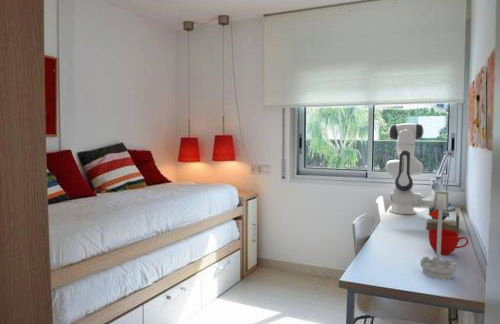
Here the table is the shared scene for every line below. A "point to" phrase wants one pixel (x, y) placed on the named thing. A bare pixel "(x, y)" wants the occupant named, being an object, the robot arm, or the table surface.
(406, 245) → the table surface
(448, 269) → the flag stand
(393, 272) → the table surface
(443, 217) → the alarm clock
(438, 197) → the green pillar on base
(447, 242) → the ceramic cup
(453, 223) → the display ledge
